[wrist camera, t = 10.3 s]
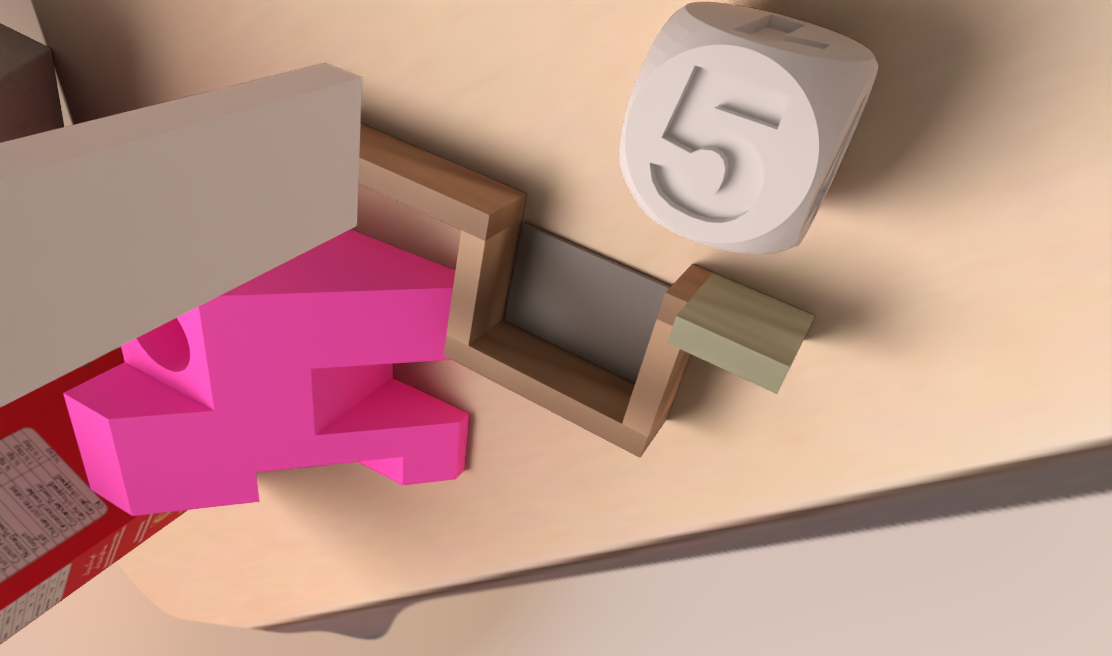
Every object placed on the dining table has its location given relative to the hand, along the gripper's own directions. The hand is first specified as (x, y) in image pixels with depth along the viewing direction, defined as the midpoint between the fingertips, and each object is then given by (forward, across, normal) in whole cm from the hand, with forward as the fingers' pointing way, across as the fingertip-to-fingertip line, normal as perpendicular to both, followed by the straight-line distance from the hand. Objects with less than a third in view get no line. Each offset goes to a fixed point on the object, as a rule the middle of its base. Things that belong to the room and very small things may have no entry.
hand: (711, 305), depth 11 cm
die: (+13, -2, -1) cm, 13 cm away
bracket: (+13, -16, -16) cm, 26 cm away
